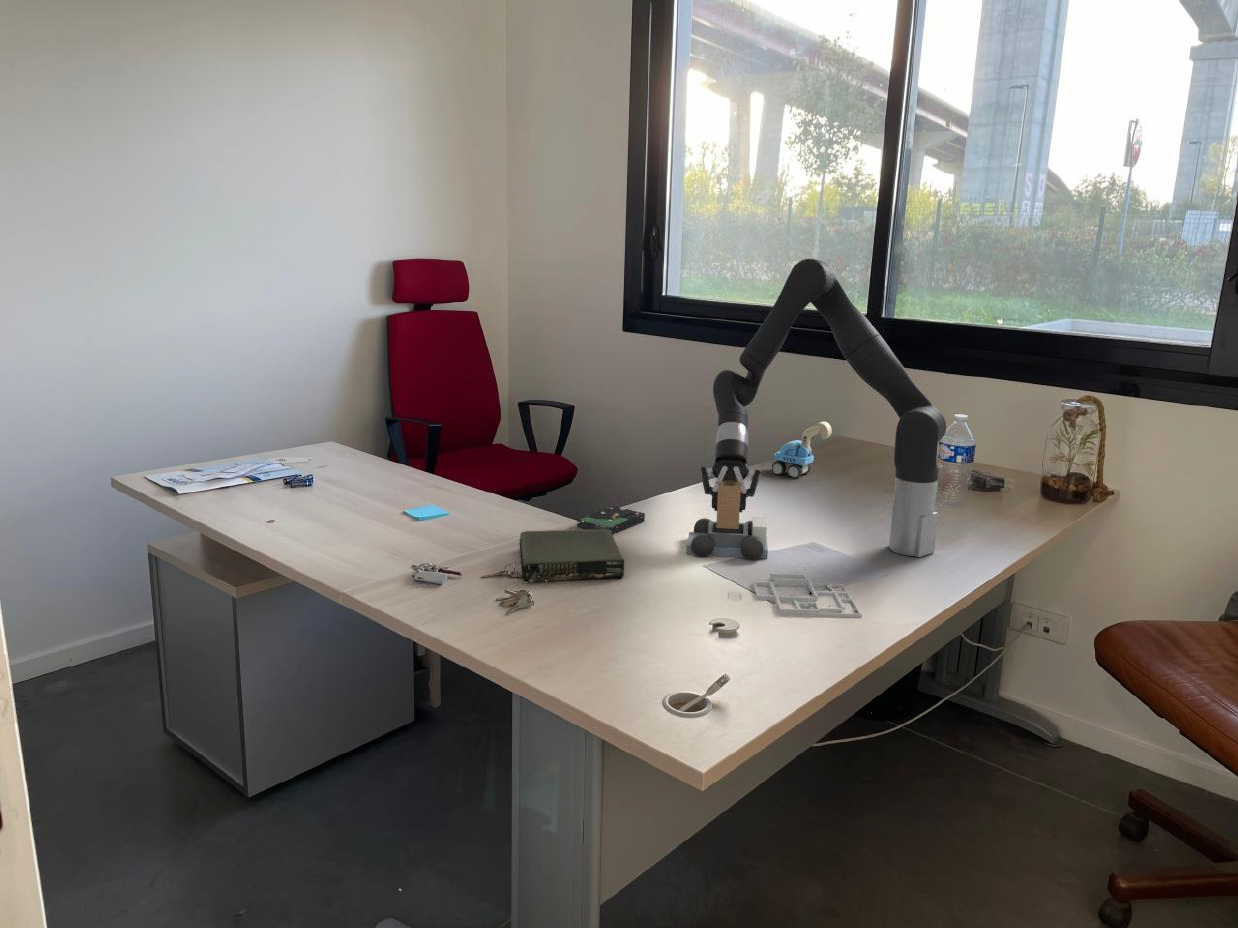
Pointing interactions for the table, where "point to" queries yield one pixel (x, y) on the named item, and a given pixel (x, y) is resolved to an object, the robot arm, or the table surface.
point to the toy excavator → (799, 452)
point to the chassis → (729, 539)
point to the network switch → (569, 555)
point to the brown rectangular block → (728, 504)
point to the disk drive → (611, 519)
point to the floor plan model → (800, 602)
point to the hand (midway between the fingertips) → (728, 509)
